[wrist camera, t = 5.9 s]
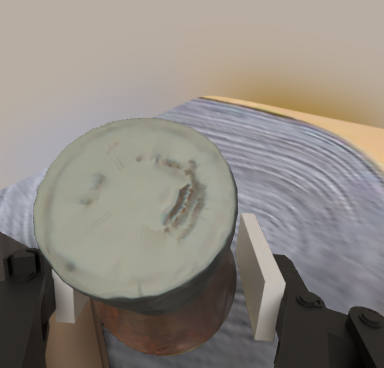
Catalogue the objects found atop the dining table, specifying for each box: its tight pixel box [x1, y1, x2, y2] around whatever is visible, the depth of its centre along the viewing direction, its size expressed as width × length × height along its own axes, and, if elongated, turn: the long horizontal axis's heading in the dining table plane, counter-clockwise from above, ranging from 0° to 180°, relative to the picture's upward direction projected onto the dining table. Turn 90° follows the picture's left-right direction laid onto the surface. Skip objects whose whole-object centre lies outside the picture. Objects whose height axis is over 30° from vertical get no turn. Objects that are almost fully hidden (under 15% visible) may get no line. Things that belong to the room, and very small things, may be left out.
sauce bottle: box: [33, 118, 238, 356], centre depth 14 cm, size 6×6×20 cm
